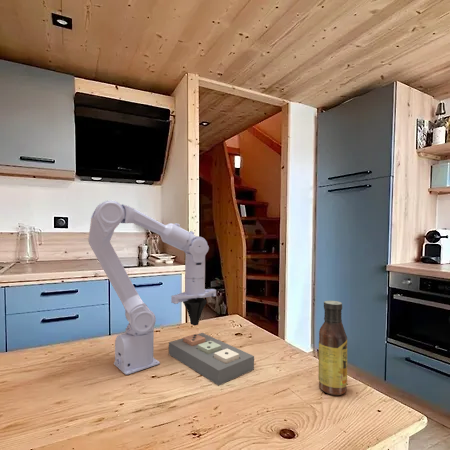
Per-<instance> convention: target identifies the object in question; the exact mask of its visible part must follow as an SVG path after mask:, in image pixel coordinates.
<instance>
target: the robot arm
mask: <svg viewBox="0 0 450 450" xmlns="http://www.w3.org/2000/svg"><path fill="white" fill-rule="evenodd" d="M120 224H134V225H136V226H138V227H141V228H143V229H145V230H147V231H150V232H152V233H155V234H157V235H158V236H159V237H160V239H161V241H162V243H165V244H167V245H169V246H171V247H173V248H175V249H178V250H180V251H183V253H184V254H185V261H184V265H185V266H184V292H183V291H182V292H181V293H177V294H174V295H171V296H170V297H171V300H170V301H171V304H174V305H176V304H179V303H183V305H184V307H185V309H186V311H187V314H188V318H189V322H190V325H192V326H198V325H199V322H200V319H201V315H202V313H203V310H204V308H205V307H206V305H207V303H208V302H207V299H205V298H208V297H209V298H210V297H217V289H215V288H207V289H206V288H205V287H206V284H205V283H206V255H207V253H208V252H209V250H210V247H209V246H210V245H208V241H207V240H206V239H205V238H204V237H202V236H198V235H195V232H194V231H192V230H191V231H188V230H186V229H184V228H183V227H181V224H180V223H177V222H175V223H173V222H172V223H171V222H169V223H167V224H164V223H163V222H160V221H158V220H157V219H155V218H153V217H152V216H150V215H147V214H146V213H144V212H142V211H140V210H138V209H136V208H134V207H131V206H129V205H126V204H123V203H122V204H121V203H120V202H118V201H116V200H113V199H109V200H105V201H102V202H101V203H99V204H98V205H97V206H96V207H95V209H94V211H93V212H92V215H91V217H90V225H89V232H88V238H87V241H88V245H89V246H90V248H91V250H92V251H93V254H94V256H95V258H96V259H97V261H98V262H99V264H100V266H101V268H102V270H103V271H104V273H105V275H106V278H107V279H108V280H109V283H110V284H111V286H112V287H113V290H114V291H115V293H116V295H117V296H118V298H119V301H120V302H121V303H122V305H123V308H124V312H125V313H124V315H125V319H126V320H127V322H128V324H127V325H126V328H125V331H124V332H123V333H121V334H118V335H117V336H115V337H116V338H115V342H114V344H115V345H114V362H113V365H114V366H115V367H117V369H118V370H120V371H121V372H122V373H123V374H124V375H130V374H134V373H137V372H139V371H142V370H146V369H149V368H152V367H156V366H157V365H160V364H161V362H160V361H159V360H157V359H156V358H155V357H154V346H155V345H154V344H155V343H154V341H155V340H154V339H155V338H154V336H155V334H154V330H155V326H156V322H157V320H156V315H155V313H154V312H153V311H152V310H150V308H149V307H148V305H147V304H146V303H145V302H144V301H143V300H142V298H141V297H140V294H139V293H138V291H137V290H136V287H135V286H134V284H133V282H132V280H131V279H130V277H129V274H128V272H127V271H126V269H125V267H124V265H123V264H122V262H121V260H120V258H119V256H118V255H117V252H116V251H115V249H114V247H113V245H112V243H111V239H112V237H113V235H114V232H115V230H116V228H117V227H118V226H119V225H120Z"/></svg>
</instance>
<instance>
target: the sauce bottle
mask: <svg viewBox="0 0 450 450" xmlns="http://www.w3.org/2000/svg"><path fill="white" fill-rule="evenodd" d="M323 310H324V318H323V320H324V322H323V323H322V325H321V327H320V328H319V331H318V338H319V339H318V379H317V380H318V387H319V389H320V390H321V391H323V392H324V393H326V394H328V395H332V396H340V395H344V394H345V393H346V392H347V386H348V337H347V333H346V330H345V328H344V325H343V321H342V310H343V303H342V302H341V301H337V300H325V301H323Z"/></svg>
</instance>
